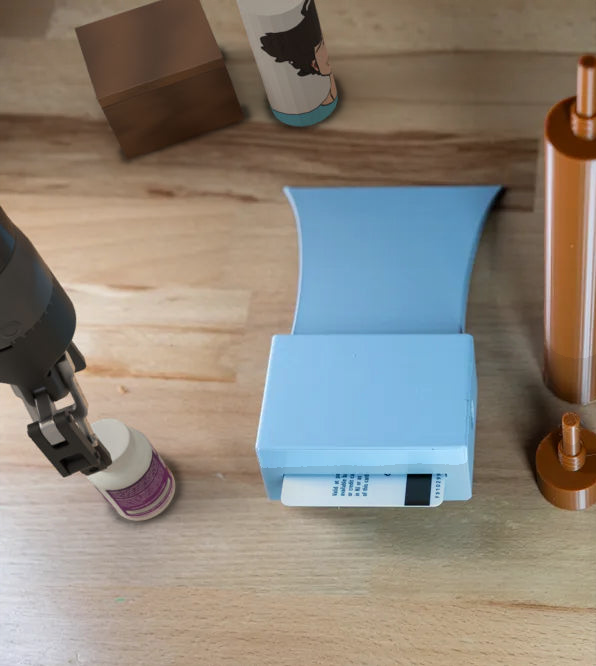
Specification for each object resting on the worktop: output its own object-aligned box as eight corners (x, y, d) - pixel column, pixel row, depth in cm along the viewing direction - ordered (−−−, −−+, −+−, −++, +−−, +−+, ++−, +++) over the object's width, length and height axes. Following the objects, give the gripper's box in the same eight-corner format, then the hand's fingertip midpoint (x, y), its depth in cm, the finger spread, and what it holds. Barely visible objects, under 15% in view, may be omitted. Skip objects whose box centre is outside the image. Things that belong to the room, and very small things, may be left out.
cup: (346, 117, 117) (317, 3, 104) (280, 137, 116) (243, 24, 103) (329, 70, 120) (299, -46, 107) (265, 89, 119) (227, -26, 106)
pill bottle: (187, 471, 98) (151, 418, 89) (160, 529, 95) (120, 481, 87) (129, 455, 99) (88, 402, 90) (101, 513, 96) (56, 463, 88)
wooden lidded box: (128, 162, 115) (96, 99, 107) (106, 92, 120) (74, 27, 112) (246, 121, 117) (222, 57, 109) (218, 55, 122) (194, -12, 114)
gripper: (-89, 229, 74) (16, 358, 88) (-55, 412, 67) (53, 521, 81) (28, 189, 75) (113, 322, 89) (73, 365, 68) (159, 480, 82)
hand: (85, 416), depth 85 cm, fingers open, 8 cm apart
